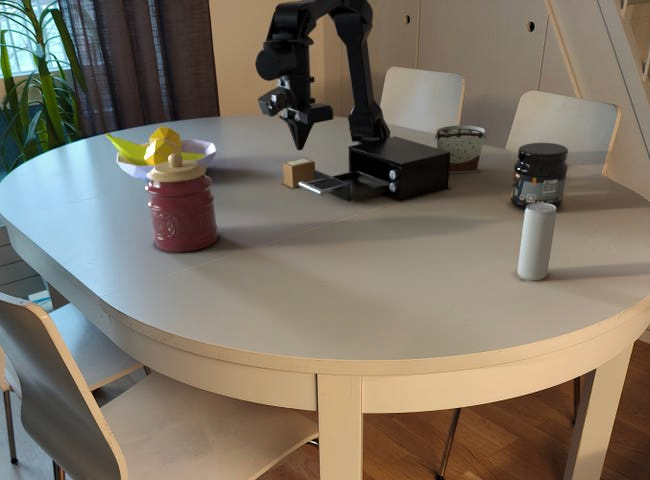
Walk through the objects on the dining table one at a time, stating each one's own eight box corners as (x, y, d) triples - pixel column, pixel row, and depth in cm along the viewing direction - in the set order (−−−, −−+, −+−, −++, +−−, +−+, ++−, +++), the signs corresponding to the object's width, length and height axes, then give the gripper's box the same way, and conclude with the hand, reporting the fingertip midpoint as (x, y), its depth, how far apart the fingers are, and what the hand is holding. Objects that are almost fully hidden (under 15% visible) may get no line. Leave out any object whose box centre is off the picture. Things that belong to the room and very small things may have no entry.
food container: (480, 164, 173) (483, 123, 167) (483, 171, 167) (487, 129, 162) (430, 166, 174) (432, 125, 169) (432, 173, 169) (434, 131, 164)
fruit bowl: (236, 163, 187) (232, 120, 181) (183, 193, 166) (177, 146, 161) (152, 157, 198) (145, 116, 192) (92, 185, 177) (83, 140, 171)
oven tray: (293, 191, 159) (292, 174, 157) (357, 176, 166) (357, 159, 164) (326, 207, 148) (326, 189, 146) (393, 190, 156) (394, 172, 154)
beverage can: (512, 271, 118) (520, 203, 112) (540, 268, 118) (549, 201, 112) (523, 282, 114) (532, 213, 108) (551, 280, 114) (562, 210, 108)
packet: (284, 184, 168) (282, 162, 166) (306, 178, 171) (305, 157, 168) (293, 188, 165) (291, 166, 162) (315, 182, 168) (314, 161, 165)
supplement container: (525, 194, 151) (532, 139, 145) (571, 203, 145) (580, 146, 139) (500, 207, 145) (506, 150, 139) (546, 217, 139) (555, 158, 132)
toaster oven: (346, 181, 167) (345, 146, 163) (394, 170, 173) (395, 136, 169) (397, 202, 152) (398, 164, 148) (448, 188, 158) (450, 152, 154)
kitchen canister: (191, 257, 132) (178, 166, 122) (141, 247, 138) (125, 159, 129) (231, 234, 141) (222, 148, 132) (182, 226, 147) (170, 142, 138)
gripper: (240, 72, 143) (246, 148, 151) (284, 83, 129) (289, 166, 137) (286, 65, 147) (290, 139, 155) (334, 75, 133) (335, 156, 141)
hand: (299, 149), depth 147 cm, fingers closed
